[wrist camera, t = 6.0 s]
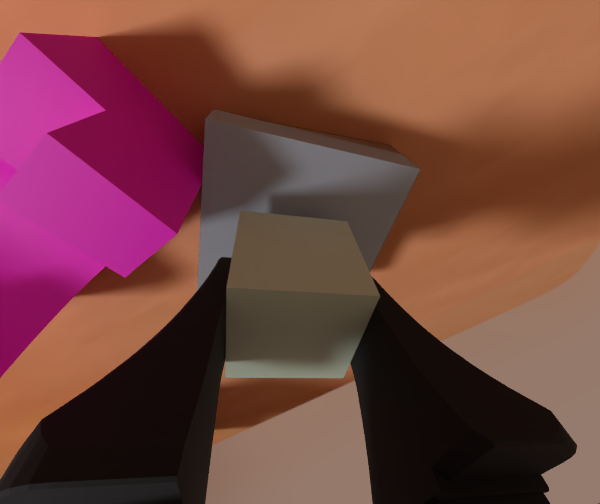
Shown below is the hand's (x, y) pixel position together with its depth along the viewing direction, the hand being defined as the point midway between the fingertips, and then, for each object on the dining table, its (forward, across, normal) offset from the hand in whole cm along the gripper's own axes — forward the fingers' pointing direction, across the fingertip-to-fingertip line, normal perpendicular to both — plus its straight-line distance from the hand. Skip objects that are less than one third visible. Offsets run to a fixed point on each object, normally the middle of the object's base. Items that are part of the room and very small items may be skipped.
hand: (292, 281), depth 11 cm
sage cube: (+2, 0, 0) cm, 2 cm away
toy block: (+7, +11, +1) cm, 13 cm away
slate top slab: (+5, 0, 0) cm, 5 cm away
